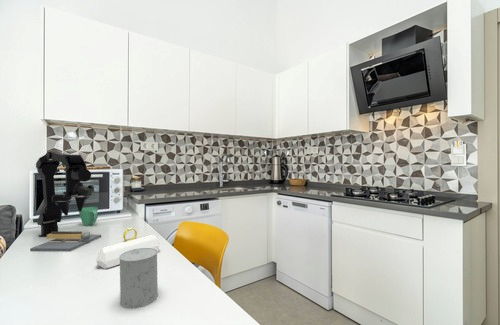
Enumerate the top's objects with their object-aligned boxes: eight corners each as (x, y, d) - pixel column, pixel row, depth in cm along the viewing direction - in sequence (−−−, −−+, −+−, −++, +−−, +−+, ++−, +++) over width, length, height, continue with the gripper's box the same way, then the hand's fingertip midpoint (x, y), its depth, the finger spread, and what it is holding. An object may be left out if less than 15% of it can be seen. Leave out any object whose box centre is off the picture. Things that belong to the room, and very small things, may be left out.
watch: (125, 243, 117) (124, 230, 117) (123, 241, 119) (121, 229, 119) (138, 239, 122) (137, 227, 121) (135, 237, 123) (134, 226, 123)
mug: (76, 225, 150) (75, 208, 150) (93, 222, 158) (93, 206, 158) (87, 228, 142) (86, 211, 142) (105, 225, 150) (104, 208, 150)
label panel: (30, 251, 107) (30, 245, 107) (66, 236, 127) (66, 232, 127) (72, 251, 106) (72, 245, 106) (102, 237, 126) (102, 232, 126)
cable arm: (46, 239, 115) (46, 232, 115) (53, 236, 119) (53, 230, 119) (86, 239, 114) (86, 232, 114) (91, 236, 118) (91, 230, 118)
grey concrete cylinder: (162, 289, 74) (161, 247, 74) (150, 308, 64) (150, 260, 64) (129, 290, 73) (129, 248, 73) (113, 309, 64) (112, 261, 64)
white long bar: (102, 262, 85) (165, 243, 103) (95, 247, 89) (157, 232, 107) (98, 278, 87) (160, 256, 106) (91, 263, 91) (152, 245, 110)
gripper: (75, 182, 110) (76, 217, 110) (101, 179, 128) (102, 209, 128) (50, 182, 110) (51, 217, 110) (80, 179, 128) (80, 209, 129)
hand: (73, 213), depth 119 cm, fingers open, 9 cm apart
